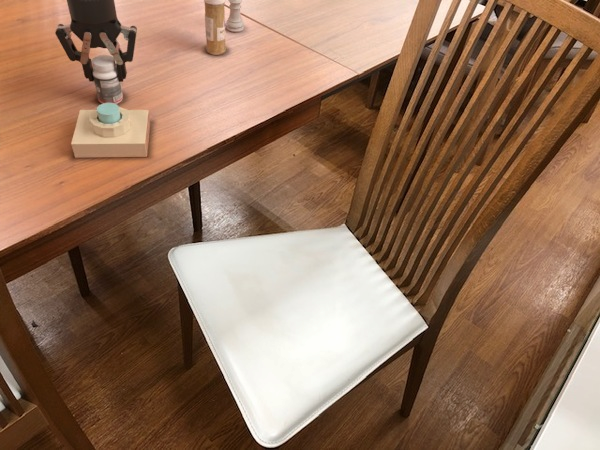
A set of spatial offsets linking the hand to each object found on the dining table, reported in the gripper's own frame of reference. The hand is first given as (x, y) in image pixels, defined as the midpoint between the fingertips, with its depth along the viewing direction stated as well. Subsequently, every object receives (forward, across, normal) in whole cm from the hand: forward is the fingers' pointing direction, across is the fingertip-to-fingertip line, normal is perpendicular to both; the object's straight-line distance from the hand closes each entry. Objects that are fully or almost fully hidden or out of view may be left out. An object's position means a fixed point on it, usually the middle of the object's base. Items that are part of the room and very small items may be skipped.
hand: (106, 79), depth 97 cm
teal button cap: (0, -2, +13) cm, 13 cm away
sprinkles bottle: (+5, -21, -20) cm, 29 cm away
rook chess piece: (+5, -26, -31) cm, 41 cm away
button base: (+4, -2, +13) cm, 14 cm away
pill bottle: (+5, 0, 0) cm, 5 cm away
